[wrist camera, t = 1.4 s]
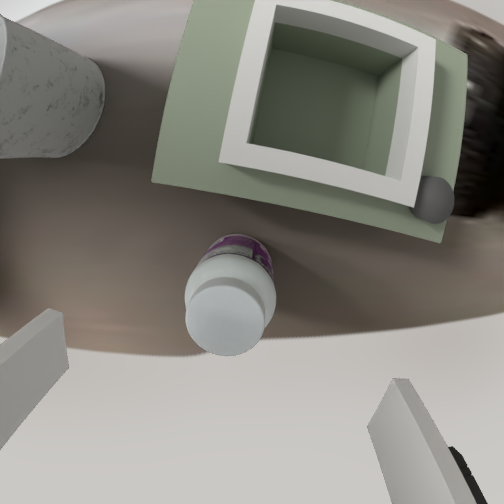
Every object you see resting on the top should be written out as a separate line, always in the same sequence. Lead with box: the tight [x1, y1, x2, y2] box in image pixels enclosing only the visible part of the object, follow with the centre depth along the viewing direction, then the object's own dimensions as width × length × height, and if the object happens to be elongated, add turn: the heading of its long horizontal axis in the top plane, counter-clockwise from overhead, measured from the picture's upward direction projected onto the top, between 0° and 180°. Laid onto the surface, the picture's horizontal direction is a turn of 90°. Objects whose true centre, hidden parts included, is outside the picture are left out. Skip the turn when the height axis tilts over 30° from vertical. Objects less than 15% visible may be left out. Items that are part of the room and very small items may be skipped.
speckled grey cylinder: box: [0, 14, 106, 159], centre depth 15 cm, size 10×10×12 cm
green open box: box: [151, 0, 467, 244], centre depth 16 cm, size 16×12×10 cm
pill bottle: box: [185, 234, 276, 356], centre depth 20 cm, size 5×5×10 cm
